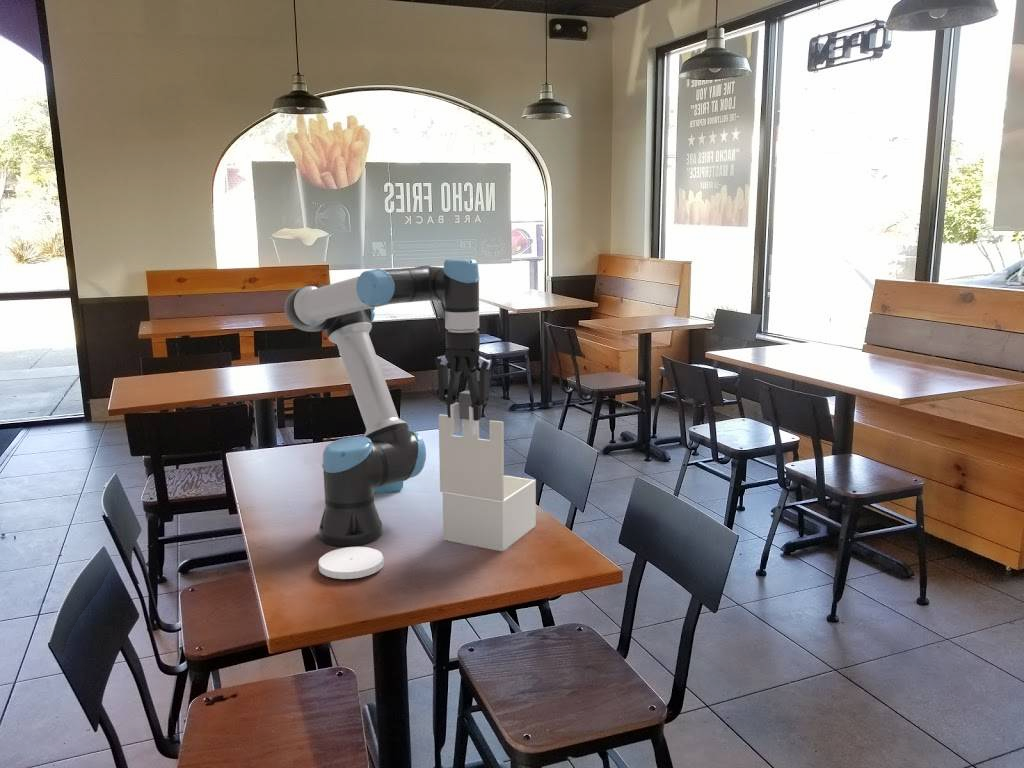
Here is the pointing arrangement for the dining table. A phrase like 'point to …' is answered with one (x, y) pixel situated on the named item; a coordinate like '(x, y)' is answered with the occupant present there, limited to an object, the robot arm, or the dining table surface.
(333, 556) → the plastic lid
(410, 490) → the dining table surface
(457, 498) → the carton
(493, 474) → the carton flap
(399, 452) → the robot arm
